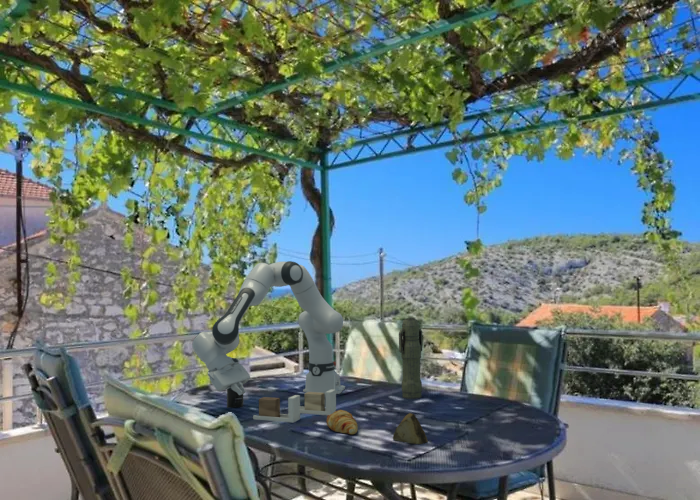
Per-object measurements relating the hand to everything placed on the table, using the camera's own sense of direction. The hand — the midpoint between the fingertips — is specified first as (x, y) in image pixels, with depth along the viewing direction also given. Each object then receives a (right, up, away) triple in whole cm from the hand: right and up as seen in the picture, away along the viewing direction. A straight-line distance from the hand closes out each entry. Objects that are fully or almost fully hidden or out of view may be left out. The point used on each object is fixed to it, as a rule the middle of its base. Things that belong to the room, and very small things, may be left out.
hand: (242, 393), depth 224 cm
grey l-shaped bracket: (+14, -9, -6) cm, 18 cm away
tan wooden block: (+28, -8, +4) cm, 29 cm away
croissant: (+38, -9, -18) cm, 43 cm away
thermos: (+69, -10, +35) cm, 79 cm away
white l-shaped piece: (+27, -9, +4) cm, 29 cm away
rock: (+61, -7, -34) cm, 71 cm away
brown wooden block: (+11, -8, -4) cm, 15 cm away
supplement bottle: (-7, -11, +18) cm, 22 cm away
